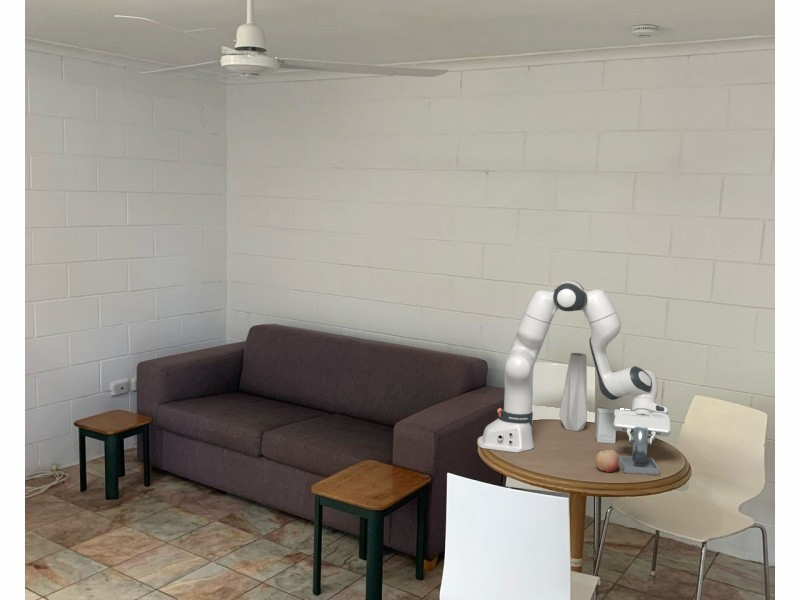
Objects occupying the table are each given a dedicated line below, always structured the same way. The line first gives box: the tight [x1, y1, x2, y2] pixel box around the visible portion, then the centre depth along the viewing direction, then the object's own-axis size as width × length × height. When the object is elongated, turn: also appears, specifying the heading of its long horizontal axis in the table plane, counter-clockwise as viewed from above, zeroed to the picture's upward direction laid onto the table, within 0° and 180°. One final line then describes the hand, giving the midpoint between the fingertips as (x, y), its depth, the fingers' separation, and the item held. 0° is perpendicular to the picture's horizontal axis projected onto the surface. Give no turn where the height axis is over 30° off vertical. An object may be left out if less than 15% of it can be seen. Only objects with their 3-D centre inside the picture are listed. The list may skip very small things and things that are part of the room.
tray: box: [618, 455, 660, 476], centre depth 278 cm, size 12×12×2 cm
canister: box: [631, 427, 649, 463], centre depth 277 cm, size 5×5×12 cm
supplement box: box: [595, 408, 617, 444], centre depth 312 cm, size 7×7×13 cm
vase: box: [558, 352, 588, 432], centre depth 326 cm, size 12×12×33 cm
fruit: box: [595, 449, 620, 473], centre depth 274 cm, size 8×8×8 cm
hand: (640, 442), depth 276 cm, fingers closed on canister, 5 cm apart
